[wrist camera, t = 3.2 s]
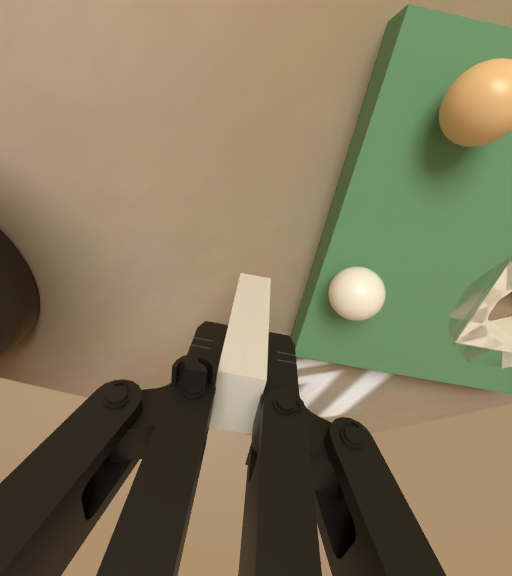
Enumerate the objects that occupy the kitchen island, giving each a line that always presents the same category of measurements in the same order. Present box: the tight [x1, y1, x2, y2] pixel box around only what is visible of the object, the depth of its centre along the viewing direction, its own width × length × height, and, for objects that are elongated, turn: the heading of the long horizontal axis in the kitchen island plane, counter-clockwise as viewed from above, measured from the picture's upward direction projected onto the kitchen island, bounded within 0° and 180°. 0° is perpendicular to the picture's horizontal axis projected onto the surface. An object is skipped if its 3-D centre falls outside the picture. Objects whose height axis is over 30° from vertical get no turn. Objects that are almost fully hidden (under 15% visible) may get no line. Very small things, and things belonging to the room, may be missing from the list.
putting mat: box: [291, 4, 512, 394], centre depth 18 cm, size 19×20×5 cm
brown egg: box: [439, 58, 512, 147], centre depth 13 cm, size 3×3×3 cm
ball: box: [328, 267, 386, 321], centre depth 18 cm, size 3×3×3 cm
